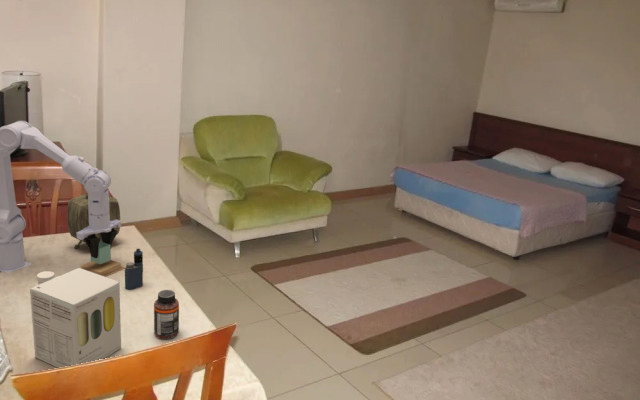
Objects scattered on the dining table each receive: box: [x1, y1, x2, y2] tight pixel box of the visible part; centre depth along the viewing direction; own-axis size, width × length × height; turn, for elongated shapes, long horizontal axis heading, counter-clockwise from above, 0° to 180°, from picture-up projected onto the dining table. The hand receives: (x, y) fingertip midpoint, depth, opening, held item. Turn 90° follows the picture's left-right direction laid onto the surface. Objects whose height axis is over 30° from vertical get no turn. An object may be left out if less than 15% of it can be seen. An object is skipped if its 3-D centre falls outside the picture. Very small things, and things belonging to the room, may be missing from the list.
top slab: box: [80, 259, 122, 276], centre depth 161 cm, size 8×8×2 cm
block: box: [90, 241, 112, 264], centre depth 159 cm, size 4×4×5 cm
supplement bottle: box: [153, 289, 180, 340], centre depth 130 cm, size 6×6×11 cm
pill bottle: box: [34, 270, 55, 287], centre depth 137 cm, size 5×5×10 cm
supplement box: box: [29, 267, 122, 368], centre depth 119 cm, size 13×13×18 cm
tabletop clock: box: [66, 191, 121, 250], centre depth 173 cm, size 14×9×25 cm, turn 144°
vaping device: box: [124, 248, 144, 291], centre depth 151 cm, size 3×5×12 cm, turn 137°
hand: (100, 254), depth 159 cm, fingers closed on block, 4 cm apart
